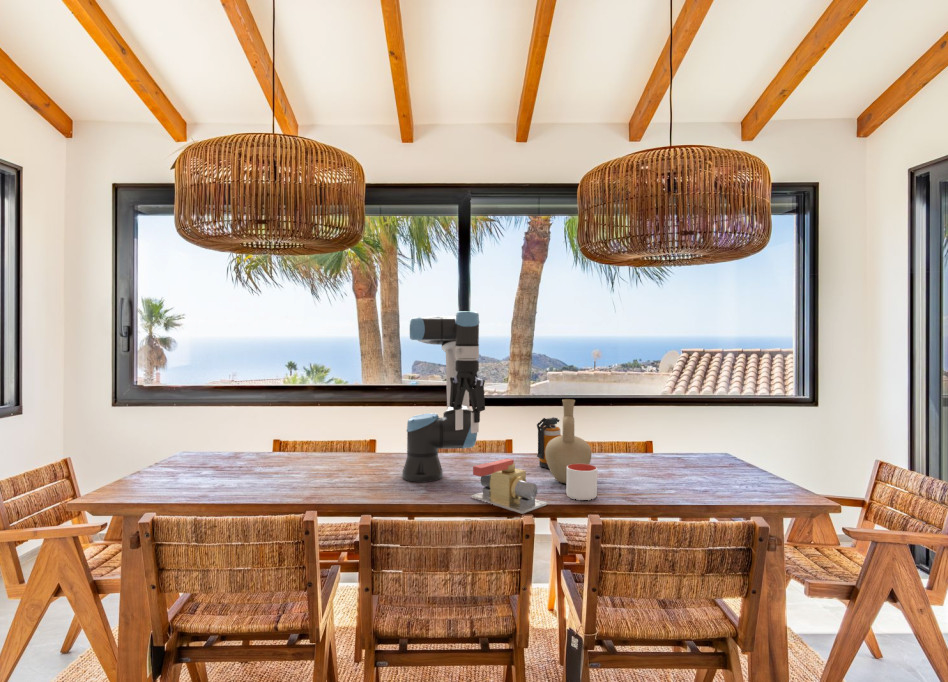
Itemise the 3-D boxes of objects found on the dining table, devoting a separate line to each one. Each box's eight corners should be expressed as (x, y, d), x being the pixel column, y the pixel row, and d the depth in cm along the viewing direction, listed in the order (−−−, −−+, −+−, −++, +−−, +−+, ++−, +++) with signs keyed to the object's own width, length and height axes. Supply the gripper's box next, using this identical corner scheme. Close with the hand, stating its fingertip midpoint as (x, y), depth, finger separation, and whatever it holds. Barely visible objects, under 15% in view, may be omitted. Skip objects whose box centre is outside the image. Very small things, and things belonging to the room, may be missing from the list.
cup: (592, 492, 188) (593, 463, 188) (600, 501, 178) (600, 471, 178) (563, 492, 188) (563, 463, 188) (569, 502, 178) (570, 471, 178)
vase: (592, 489, 192) (593, 403, 191) (544, 486, 195) (544, 402, 194) (590, 476, 208) (590, 397, 208) (545, 474, 211) (546, 396, 210)
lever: (507, 467, 181) (507, 457, 181) (517, 470, 178) (517, 459, 178) (471, 477, 169) (471, 465, 169) (481, 480, 166) (481, 468, 166)
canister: (566, 467, 222) (566, 418, 222) (545, 471, 216) (546, 420, 215) (551, 462, 230) (551, 415, 229) (530, 466, 223) (531, 417, 223)
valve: (471, 497, 182) (471, 467, 182) (495, 490, 190) (495, 461, 190) (522, 513, 166) (522, 481, 166) (546, 505, 175) (546, 473, 174)
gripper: (438, 358, 181) (438, 428, 181) (480, 361, 167) (480, 437, 167) (455, 357, 186) (454, 425, 186) (497, 360, 172) (497, 433, 173)
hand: (466, 431), depth 177 cm, fingers open, 6 cm apart
